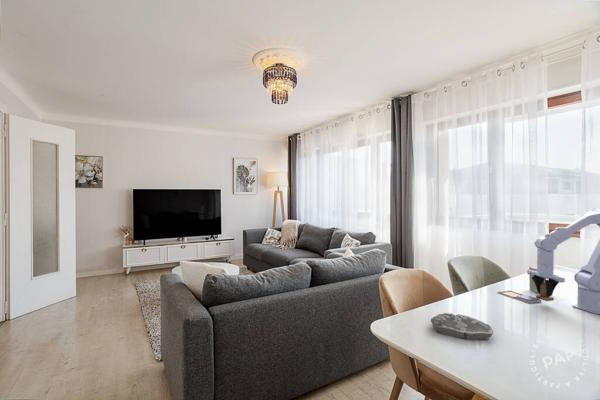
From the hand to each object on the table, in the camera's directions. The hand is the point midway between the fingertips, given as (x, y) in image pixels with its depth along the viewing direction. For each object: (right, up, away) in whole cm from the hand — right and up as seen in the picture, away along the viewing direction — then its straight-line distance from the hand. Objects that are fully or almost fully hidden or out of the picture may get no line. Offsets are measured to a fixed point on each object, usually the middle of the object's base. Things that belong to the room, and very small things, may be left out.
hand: (544, 294), depth 136 cm
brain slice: (-52, -6, -26) cm, 58 cm away
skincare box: (+13, -5, +20) cm, 24 cm away
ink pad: (-2, -5, +7) cm, 9 cm away
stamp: (0, -2, 0) cm, 2 cm away
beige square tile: (-5, -5, +14) cm, 16 cm away
